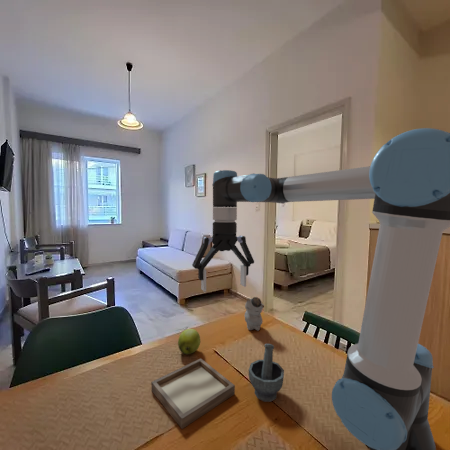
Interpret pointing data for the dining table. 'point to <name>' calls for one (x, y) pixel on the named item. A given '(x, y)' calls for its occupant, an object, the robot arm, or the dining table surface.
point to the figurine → (253, 313)
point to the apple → (189, 341)
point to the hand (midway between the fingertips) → (224, 287)
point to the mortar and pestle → (266, 376)
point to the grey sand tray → (192, 391)
